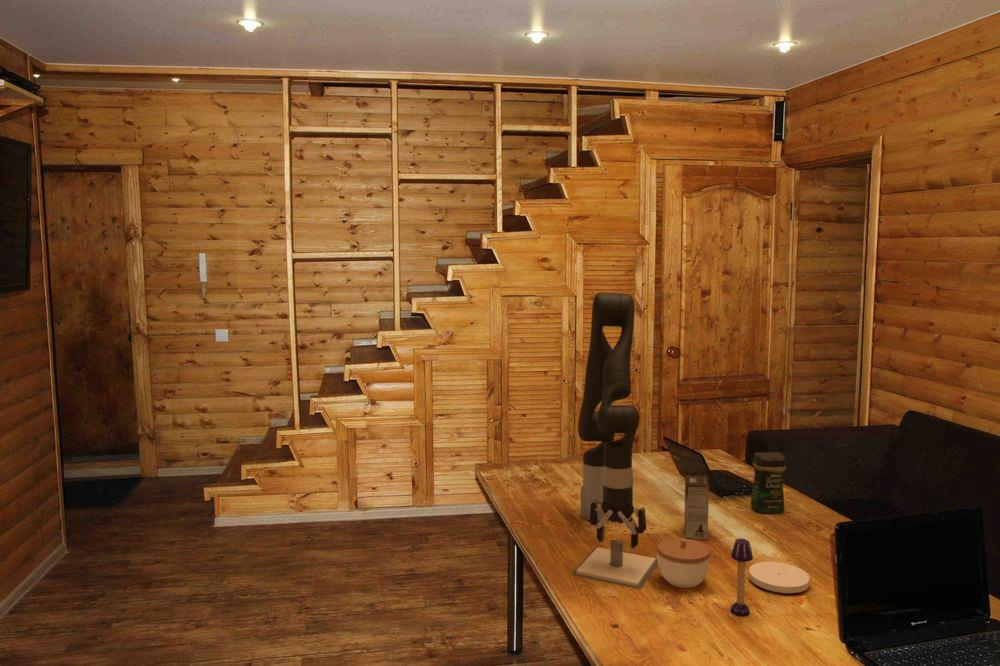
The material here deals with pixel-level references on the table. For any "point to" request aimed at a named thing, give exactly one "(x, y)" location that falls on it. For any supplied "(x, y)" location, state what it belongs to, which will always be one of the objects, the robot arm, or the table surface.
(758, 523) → the table surface
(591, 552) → the rubber mat
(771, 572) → the plastic lid
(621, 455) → the robot arm
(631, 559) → the cover board
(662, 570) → the lidded bowl
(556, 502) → the table surface
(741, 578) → the toy lamp
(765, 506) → the coffee jar
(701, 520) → the coffee box
